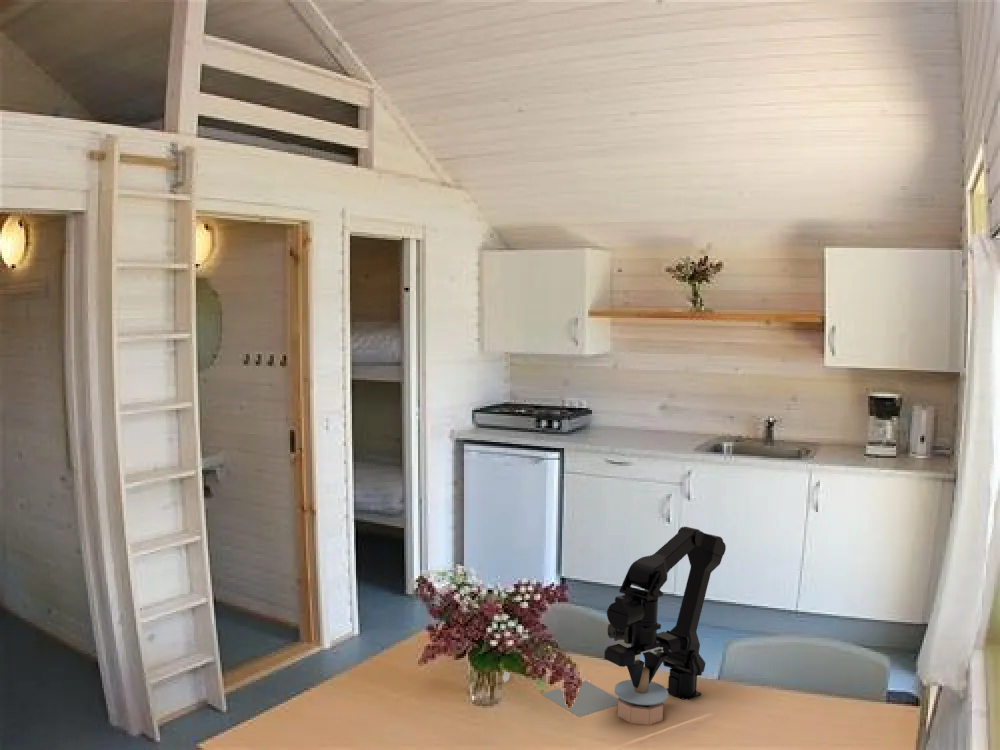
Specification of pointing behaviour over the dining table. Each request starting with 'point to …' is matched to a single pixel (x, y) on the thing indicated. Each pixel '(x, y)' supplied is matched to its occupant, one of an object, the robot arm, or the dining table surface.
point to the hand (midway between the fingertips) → (641, 685)
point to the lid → (642, 691)
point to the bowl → (640, 712)
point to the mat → (585, 699)
